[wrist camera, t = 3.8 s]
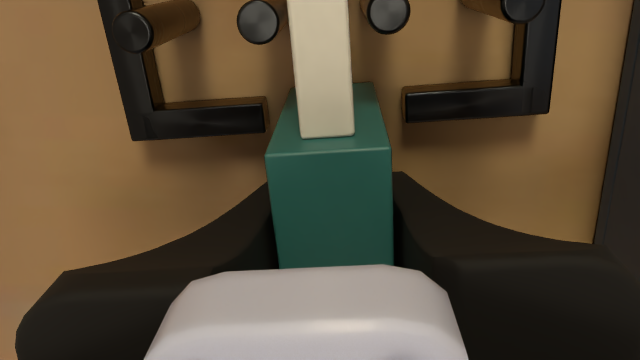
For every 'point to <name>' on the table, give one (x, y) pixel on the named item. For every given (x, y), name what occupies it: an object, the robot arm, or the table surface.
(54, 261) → the table surface
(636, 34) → the tray
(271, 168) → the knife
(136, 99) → the rack
